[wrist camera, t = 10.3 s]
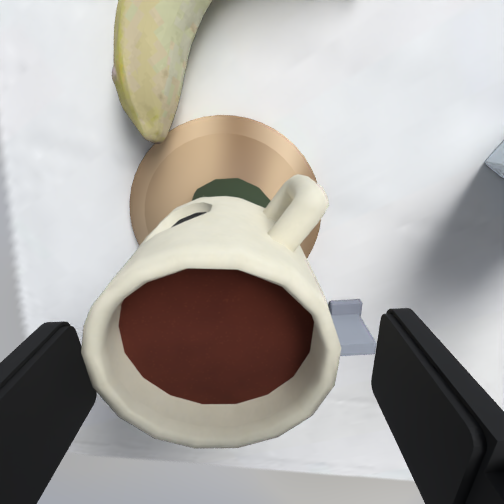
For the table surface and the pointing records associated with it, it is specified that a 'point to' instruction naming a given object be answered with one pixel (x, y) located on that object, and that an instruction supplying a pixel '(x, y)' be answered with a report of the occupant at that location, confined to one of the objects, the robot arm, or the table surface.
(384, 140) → the table surface
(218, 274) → the character mug
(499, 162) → the skincare box
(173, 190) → the coaster
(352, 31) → the table surface
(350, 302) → the grey cabinet handle
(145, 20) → the fruit
